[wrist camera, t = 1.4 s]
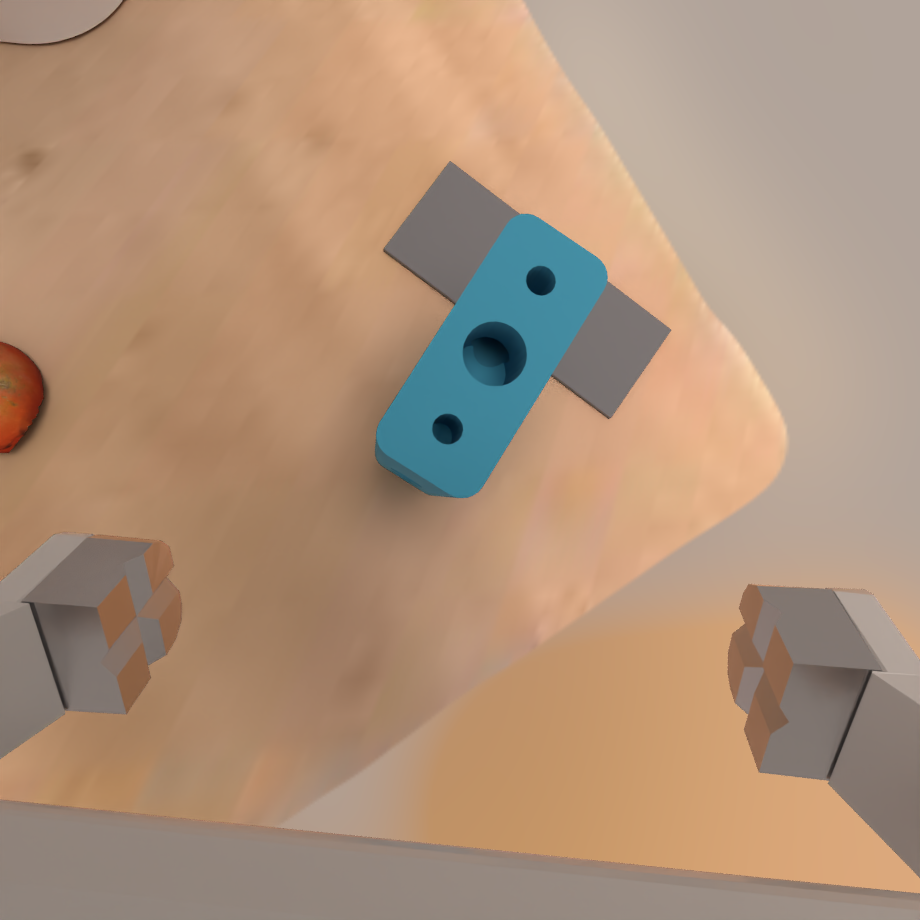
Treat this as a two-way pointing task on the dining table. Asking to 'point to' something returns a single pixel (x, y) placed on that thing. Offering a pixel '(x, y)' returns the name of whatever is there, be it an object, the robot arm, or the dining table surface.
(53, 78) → the dining table surface
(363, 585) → the dining table surface
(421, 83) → the dining table surface
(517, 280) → the block
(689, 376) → the dining table surface
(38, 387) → the tomato
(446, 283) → the mat
